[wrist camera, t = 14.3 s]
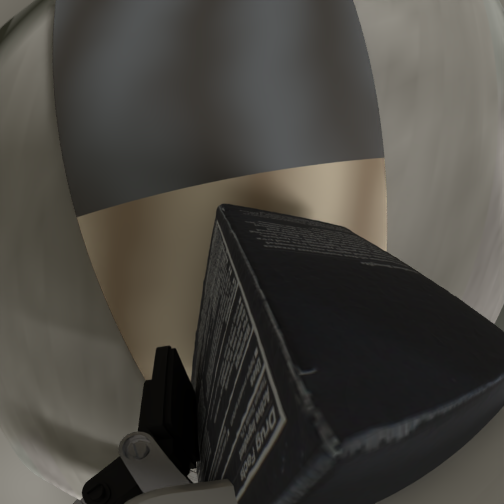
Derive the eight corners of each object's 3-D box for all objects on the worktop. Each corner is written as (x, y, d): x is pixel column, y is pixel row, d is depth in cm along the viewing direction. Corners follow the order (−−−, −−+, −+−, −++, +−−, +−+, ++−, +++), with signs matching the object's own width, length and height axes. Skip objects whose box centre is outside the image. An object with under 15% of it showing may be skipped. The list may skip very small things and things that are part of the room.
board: (331, -32, 9) (338, -39, 8) (371, 338, 19) (377, 346, 18) (62, 6, 8) (56, -1, 7) (159, 391, 17) (158, 401, 16)
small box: (294, 389, 16) (356, 535, 6) (188, 387, 14) (201, 563, 5) (354, 225, 13) (547, 357, 3) (215, 199, 11) (300, 473, 1)
